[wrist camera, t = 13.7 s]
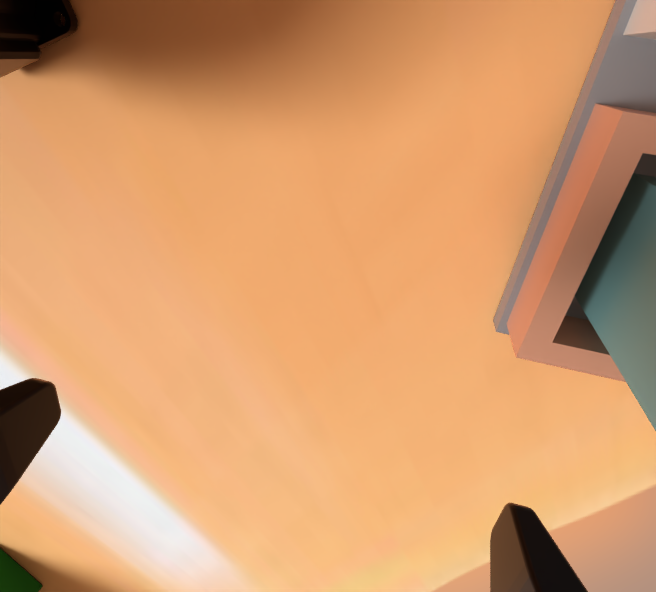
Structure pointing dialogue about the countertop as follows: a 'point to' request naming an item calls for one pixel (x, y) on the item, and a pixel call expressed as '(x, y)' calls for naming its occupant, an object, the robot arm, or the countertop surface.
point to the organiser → (585, 197)
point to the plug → (627, 290)
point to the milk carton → (15, 576)
